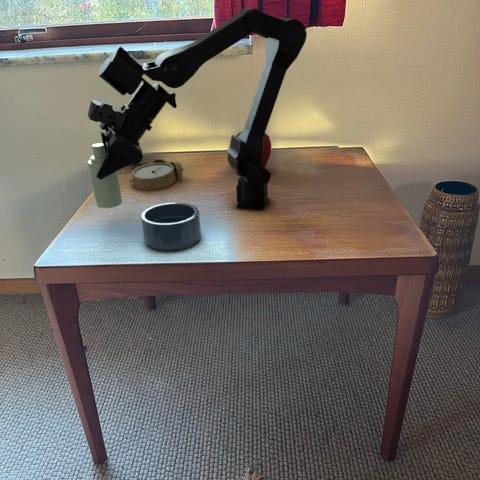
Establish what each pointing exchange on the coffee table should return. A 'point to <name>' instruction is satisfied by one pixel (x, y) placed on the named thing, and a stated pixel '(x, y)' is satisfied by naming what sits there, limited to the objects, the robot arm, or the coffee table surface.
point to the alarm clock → (156, 174)
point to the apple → (264, 148)
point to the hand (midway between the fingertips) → (96, 174)
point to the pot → (171, 226)
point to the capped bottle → (103, 180)
